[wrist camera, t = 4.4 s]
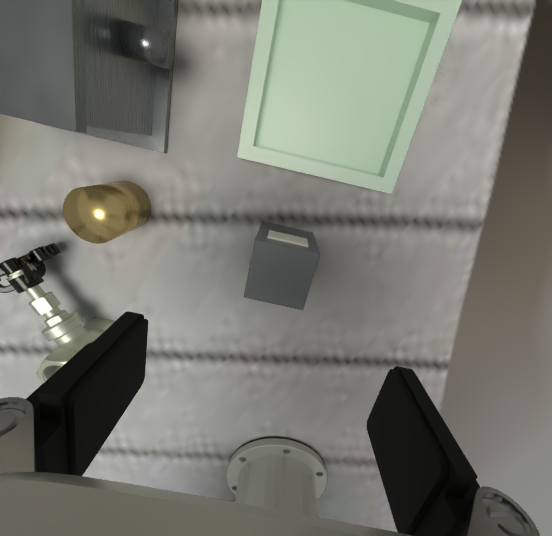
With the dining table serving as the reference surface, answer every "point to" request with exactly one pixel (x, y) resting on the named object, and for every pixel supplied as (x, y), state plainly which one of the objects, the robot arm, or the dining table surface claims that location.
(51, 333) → the valve
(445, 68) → the dining table surface
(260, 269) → the block
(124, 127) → the box
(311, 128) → the tray
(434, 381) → the dining table surface
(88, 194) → the cylinder
